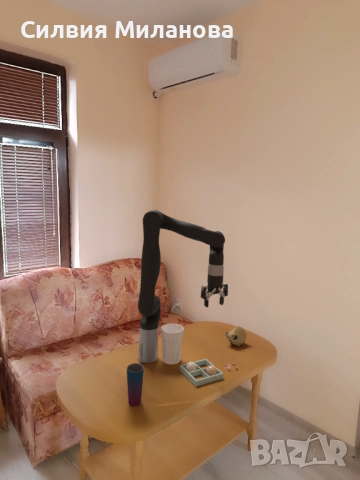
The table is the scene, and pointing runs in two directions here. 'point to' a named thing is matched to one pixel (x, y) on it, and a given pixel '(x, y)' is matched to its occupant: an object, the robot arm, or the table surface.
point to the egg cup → (229, 366)
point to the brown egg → (211, 370)
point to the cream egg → (191, 366)
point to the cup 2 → (171, 343)
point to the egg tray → (201, 373)
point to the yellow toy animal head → (236, 336)
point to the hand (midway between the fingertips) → (213, 305)
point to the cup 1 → (135, 383)
